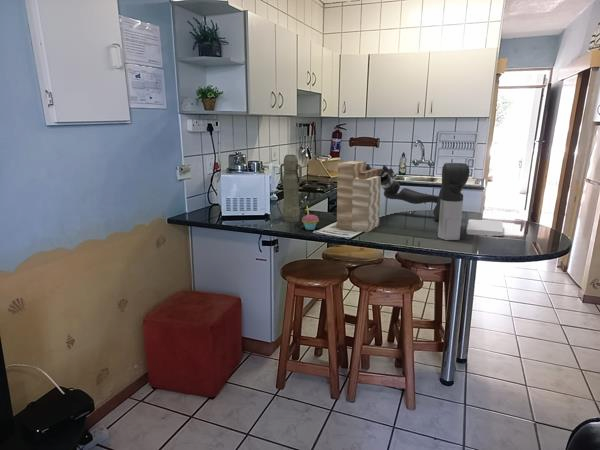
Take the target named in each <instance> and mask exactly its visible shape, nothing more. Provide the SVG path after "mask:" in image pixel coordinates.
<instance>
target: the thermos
mask: <svg viewBox="0 0 600 450" xmlns="http://www.w3.org/2000/svg"><path fill="white" fill-rule="evenodd" d="M302 175H303V167H302V165H301V164H300V163H299V159H298V157H297V155H295V154H286V155H284V158H283V163H281V164H280V166H279V177H280V183H281V184H282V189H283V208H282V212H283V221H284V222H286V223H297V222H299V221H300V216H301V215H300V213H301V212H300V209H301V208H300V206H299V204H300V203H299V200H300V199H299V195H300V194H299V190H300V184H302V183H303V180H302V179H303V177H302Z"/></svg>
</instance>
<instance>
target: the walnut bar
mask: <svg viewBox="0 0 600 450" xmlns="http://www.w3.org/2000/svg"><path fill="white" fill-rule="evenodd" d="M375 168H376V169H372V170H371V169H370V170H368V171H363V172H359V179H368V178H371V177H375V176H378V175H381V172H382V169H383V167H382V168H379V167H375Z"/></svg>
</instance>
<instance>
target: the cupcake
mask: <svg viewBox="0 0 600 450" xmlns="http://www.w3.org/2000/svg"><path fill="white" fill-rule="evenodd" d="M306 212H307V214H305V215H304V216H303V217H301V222H302V223H303V226H304V228H305V230H308V231H311V230H315V229H316V226H317V224H318V223H319V222H320V218H319V217H318V216H317V215H315V214H310V212H309V206H308V205H306Z"/></svg>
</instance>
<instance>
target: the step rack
mask: <svg viewBox="0 0 600 450" xmlns="http://www.w3.org/2000/svg"><path fill="white" fill-rule="evenodd" d="M366 165H367V161H361V160H360V161H359V160H358V161H357V160H350V161H344V162H338V163H337V177H336V178H337V181H336V182H337V183H336V184H337V185H336V186H337V187H336V189H337V191H336V192H337V194H336V197H337V198H336V202H337V203H336V229H337V228H340V229H339V230H345V229H348V230H347V231H353V230H357V231H356V232H360V231H364V232H363V233H368V232H371V231H372V230H374V229H375V227H376V228H377V227H379V226H380V210H381V209H380V208H381V186H380V185H381V176H375V177H371V178H368V179H359V172H363V171H366Z"/></svg>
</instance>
